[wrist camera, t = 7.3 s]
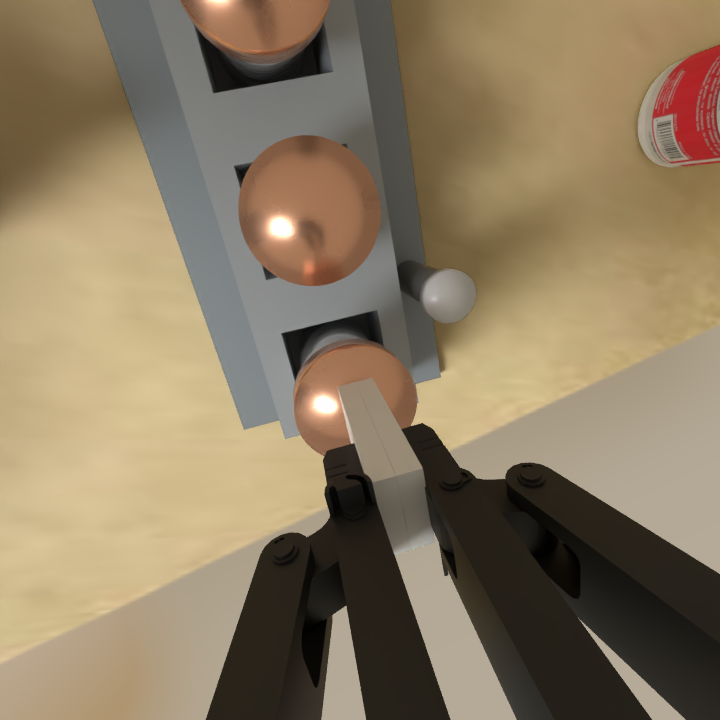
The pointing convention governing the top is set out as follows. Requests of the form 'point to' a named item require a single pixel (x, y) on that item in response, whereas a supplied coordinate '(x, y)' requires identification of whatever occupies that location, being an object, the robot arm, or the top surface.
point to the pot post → (438, 290)
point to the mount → (231, 162)
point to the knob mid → (309, 210)
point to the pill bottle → (683, 113)
